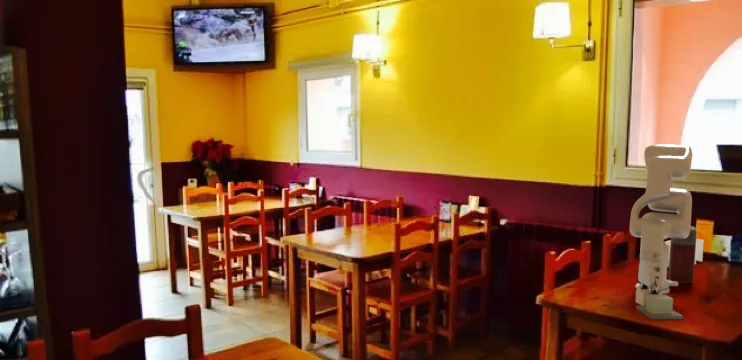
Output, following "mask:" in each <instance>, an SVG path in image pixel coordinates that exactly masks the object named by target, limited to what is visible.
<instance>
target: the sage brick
mask: <svg viewBox="0 0 742 360" xmlns="http://www.w3.org/2000/svg"><path fill="white" fill-rule="evenodd" d="M673 304H674V298H672V297H671V296H669V295H667V294H662V295H652V294H646V309H648V310H649V311H651V312H652V313H672V310H674V309H673V308H674V307H673V306H674V305H673Z"/></svg>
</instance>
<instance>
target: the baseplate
mask: <svg viewBox="0 0 742 360" xmlns="http://www.w3.org/2000/svg"><path fill="white" fill-rule="evenodd" d="M635 309H636V310H637V311H639V312H640V313H642V314H643V315H644V316H646V318H649V319H650V320H683V319H684V317H683V315H682V314H681V313H679V312H677V311H676V310H674V309H672V313H652V312H651V311H649V310H648V309H646V306H642V305H636V307H635Z"/></svg>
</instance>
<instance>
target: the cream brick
mask: <svg viewBox="0 0 742 360" xmlns="http://www.w3.org/2000/svg"><path fill="white" fill-rule="evenodd" d="M635 289H636V290H635V303H636V304H639V306H646V294H650V292H649V289H637V288H635ZM653 290H655V289H652V291H653ZM659 295H663V294H662V293H661V292H659Z"/></svg>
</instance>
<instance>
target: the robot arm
mask: <svg viewBox="0 0 742 360" xmlns="http://www.w3.org/2000/svg"><path fill="white" fill-rule="evenodd" d="M643 154H644V158H643V159H644V163H645V167H646V171H647V175H646V177H647V178H646V186H645V193H644V194H643V195H641V197H639V198H638V199H637V200H636V201H635V203H634V204H633V206H632V209H631V212H630V220H629V233H630V235H631V236H632V237H635V238H640V247H639V248H640V250H639V251H640V253H639V265H638V277H637V279H638V283H636V284H635V289H649V292H650V294H652V295H659V292H661V293H662V295H667V294H669V293H670V292H671V286H672V287H678V286H679V283H678V282H677V281H671V280H669V279H667V278H668V277H667V275H668V267H667V262H668V246H667V244H666V243H665V242H666V241H665V240H666V239H668V238H670V239H671V238H677V239H685V238H687V237H688V236H689V233H690V226H691V225H692V224H691V223H692V211H693V210H692V209H693V208H692V207H693V198H692V193H691V192H690V191H689V190H687V189H683V188H673V181H674V179H686V178H688V177H689V174H690V172H691V168H692V159H693V150H692V148H691V147H690V146H688V145H685V144H664V143H663V144H662V143H661V144H660V143H659V144H650V145H648V146H646V147H645V150H644V153H643ZM646 206H648V208H649V209H650V210H652V211H656V212H648V213H644V215H643V216H642V217H639V215H640V212H641V211H642V209H643V208H645V207H646ZM665 212H666V213H665ZM674 213H675V214H674ZM652 289H655V290H653V291H652Z"/></svg>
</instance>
